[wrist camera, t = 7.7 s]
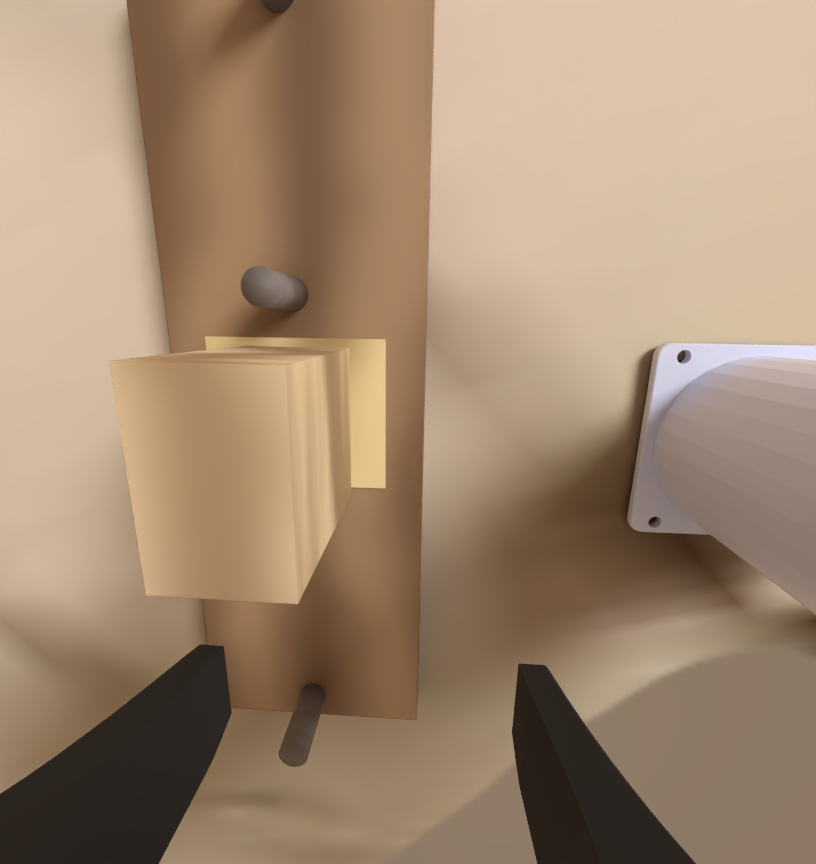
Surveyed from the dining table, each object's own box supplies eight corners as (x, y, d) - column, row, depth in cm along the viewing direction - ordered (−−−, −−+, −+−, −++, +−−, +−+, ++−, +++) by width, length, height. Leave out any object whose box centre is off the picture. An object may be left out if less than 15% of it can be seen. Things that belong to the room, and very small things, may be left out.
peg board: (435, -24, 14) (435, -179, 10) (417, 693, 22) (413, 786, 17) (151, -15, 15) (31, -158, 10) (229, 681, 22) (179, 768, 18)
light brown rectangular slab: (349, 348, 16) (285, 365, 9) (351, 495, 17) (297, 603, 11) (242, 345, 16) (102, 360, 9) (253, 490, 18) (140, 594, 11)
